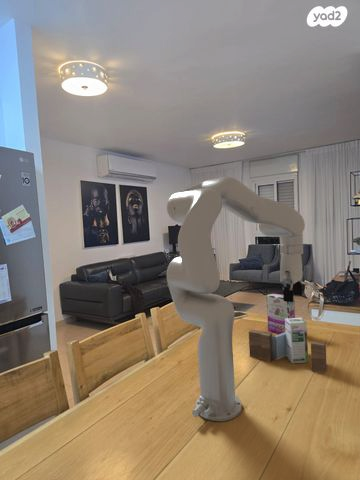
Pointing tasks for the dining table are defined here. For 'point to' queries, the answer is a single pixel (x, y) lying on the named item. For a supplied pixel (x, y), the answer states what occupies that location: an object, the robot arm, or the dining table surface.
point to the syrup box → (296, 340)
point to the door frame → (264, 350)
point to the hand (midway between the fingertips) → (293, 298)
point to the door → (279, 346)
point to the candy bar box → (278, 312)
